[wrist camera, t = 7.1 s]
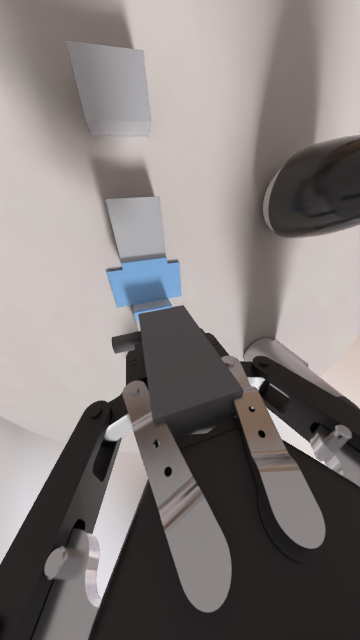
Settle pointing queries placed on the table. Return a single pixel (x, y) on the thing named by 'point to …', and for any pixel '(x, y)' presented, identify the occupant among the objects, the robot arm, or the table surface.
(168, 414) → the dark grey bar
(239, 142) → the table surface
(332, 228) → the black egg-shaped body
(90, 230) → the table surface
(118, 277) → the blue-tipped block chain
